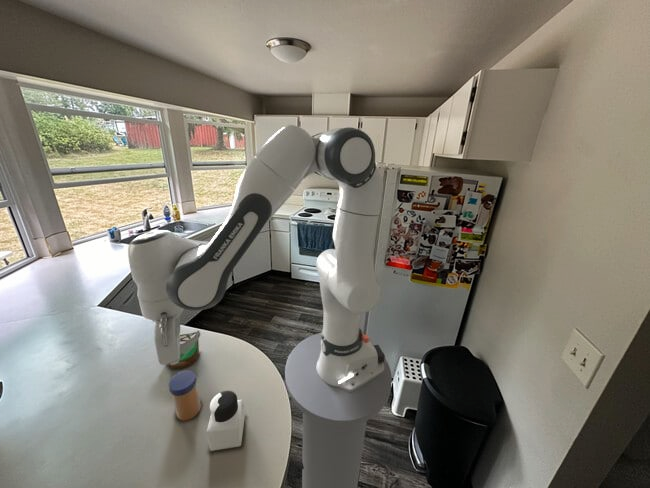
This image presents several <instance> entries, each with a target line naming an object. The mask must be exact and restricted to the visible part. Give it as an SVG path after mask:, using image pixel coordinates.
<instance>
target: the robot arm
mask: <svg viewBox="0 0 650 488" xmlns="http://www.w3.org/2000/svg"><path fill="white" fill-rule="evenodd" d="M311 174H316V175H318V176H322V177H323V178H325V179H328V180H331V181H336V182H337V184H338V188H339V189H338V191H339V195H338V201H337V206H336V210H335V217H334V223H333V224H334V225H333V229H332V241H333V244H334V248H329V249H325V250H324V251H322V252H321V253H320V254H319V255H318V257H317V259H316V261H315V267H316V272H317V275H318V281H319V289H320V296H321V302H322V303H321V304H322V311H323V315H322V316H323V317H322V318H323V319H322V330H321V333H322V334H321V353H320V357H319V359H318V361H317V365H316V369H317V373H318V375H319V376H320V378H321V379H322V380H323V381H325V382H326V383H328V384H330V385H333V386H337V387H341V388H343V389H344V390H346V391H348V392H352V391H354V390H356V389H357V388H359V387H360V386H362V385H364V384H365V383H367V382H368V381H370V380H371V379H373V378H374V377H376V376H378V375H379V374H381V373H382V372H384V363H383V362H384V359H386V355H385V353H384V352H383V350H382V348H381V347H380V345H379V344H373V343H372V341H371V340H370V339H371V338H370V337H369V336H368V335H367V334H364V333H363V330H362V329H361V327H360V326H361V316H362V314H366V313H368V312H370V311H372V310H373V309H374V308H375V307H376V306H377V305H378V303H379V301H380V298H381V295H382V294H381V291H382V290H381V287H380V285H379V283H378V282H379V281H378V279H377V275H376V270H375V268H376V267H375V256H374V255H375V254H374V246H375V245H374V244H375V238H376V233H377V228H378V223H379V218H380V213H381V208H382V203H383V195H384V194H383V193H384V177H383V175H382V173H381V172H380V171H379V170H378V169H377V163H376V150H375V145H374V143H373V140H372V138H371V137H370V136H369V135H368V134H367V133H366V132H364V131H363V130H361V129H358V128H355V127H350V126H348V127H342V128H341V127H338V128H332V129H329V130H326V131H322V132H320V133H317V134H314V135H311V134H310V133H309V132H308V131H307V130H305V129H303V128H302V127H301V126H298V125H294V124H288V125H284V126H282V127H281V128H280V129H278V131H276V132H275V133H274V134H272V136H271V137H269V139H268V140H267V141H266V142H265V143H264V144H263V145H262V146H261V147H260V148H259V149H258V151H257V152H256V153H255V154H254V156H253V157H251V159H250V160H249V162H248V163H247V165H246V167H244V169H243V172H242V173H241V175H240V177H239V179H238V182H237V184H236V188H235V193H234V199H233V202H232V206H231V209H230V211H229V214H227V215H228V216H227V217H226V219H225V221H223V224H222V225H221V226H220V227H219V229H218V231H217V232H216V233H215V234H214V235H213V237H212V238H211V240H210V241H209V240H196V239H192V238H191V239H190V238H186V237H183V236H180V235H178V234H175V233H173V232H172V231H170V230H167V229H158V230H151V231H148V232H145V233H143V234H140V235H138V236H137V237H136V238H134V239H132V240H131V242H130V243H129V245H128V248H127V258H128V265H129V270H130V274H131V278H132V280H133V282H134V283H135V284H136V287H137V292H136V295H137V301H138V303H139V307H140V312H141V315H142V317H143V318H144V319H145V320H150V321H152V322H153V323H155V325H154V332H153V335H154V336H153V338H154V345H155V350H156V355H157V360H158V363H159V364H160V365H161V366H164V365H168V364H169V363H170V365H174V364H177V363H179V359H180V335H181V315H182V314H183V312H184V310H187V311H194V312H195V311H204V310H209V309H211V308H213V307H215V306H216V305H217V304H219V303H220V302H221V301H222V300H223V298H224V296H225V294H226V290H227V286H228V281H229V278H230V276H231V274H232V272H233V270H234V269H235V267H236V266H237V265H238V263H239V262H240V260H241V259H242V258H243V256H244V255H245V253H246V252H247V251H248V249H249V248H250V246H251V245H252V244H253V242H254V241H255V240H256V238H257V237H258V236H259V234H260V232H261V231H262V230H263V228H264V227H265V225H267V223H268V222H269V221H270V220H271V219H272V218H273V217H274V215H275V214H276V213H277V212H278V211H279V209H280V208H281V207H282V206H283V205H284V204H285V203H286V201H288V199H290V198H291V196H292V195H293V193H294V192H295V191H296V190H297V189H298V187H299V186H300V185H301V183H302V181H303V180H305V179H306V178H307V177H308V176H309V175H311ZM380 363H381V364H380ZM352 385H354V386H352Z"/></svg>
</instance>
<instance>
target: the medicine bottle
mask: <svg viewBox="0 0 650 488" xmlns="http://www.w3.org/2000/svg"><path fill="white" fill-rule="evenodd" d="M209 410H210V416H209V420H208V424H207V429H206V437H207V441H208V446H209V450H210V451H211V452H213V451H219V450H227V449H232V448H238V447H241V446H242V441H243V435H244V434H243V433H244V426H245V409H244V401H243V399H238V395H237V394H236V393H235V391H232V390H223V391H220V392H219V393H217V394H216V395H215V396H213V398H212V399H211V401H210V404H209Z"/></svg>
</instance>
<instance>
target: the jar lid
mask: <svg viewBox="0 0 650 488" xmlns="http://www.w3.org/2000/svg"><path fill="white" fill-rule="evenodd" d="M197 383H198V382H197V376H196V373H195V372H194V371H192V370H188V369H187V370H182V371H179V372H178V373H176V374H175V375H174V376H172V377H171V379H170V380H169V382H168V389H169V390H168V391H169V393H170V394H171V396H172V395H174V396H181V395H184V394H187V393H188V392H190V391H191V390H192V389H193V388H194V387H195V385H196V384H197Z"/></svg>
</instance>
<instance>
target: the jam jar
mask: <svg viewBox="0 0 650 488" xmlns="http://www.w3.org/2000/svg"><path fill="white" fill-rule="evenodd" d="M198 389H199V388H198V384H197V383H196V385H195V387H194V388H193V389H192V390H191V391H190V392H188V393H187V394H184V395H181V396H174V395H172V394H171V399H172V401H173V404H174V409H175V414H176V417H177V419H179V420H180V421H188V420H191V419H193V418H194V417H196V416H197V415H198V413H200V410H201V407H202V404H201V399H200V395H199V390H198Z"/></svg>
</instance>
